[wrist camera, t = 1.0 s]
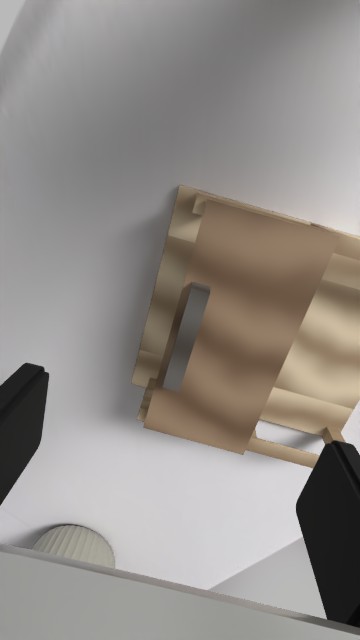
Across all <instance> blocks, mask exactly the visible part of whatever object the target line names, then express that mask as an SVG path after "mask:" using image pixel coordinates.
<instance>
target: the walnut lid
mask: <svg viewBox="0 0 360 640" xmlns="http://www.w3.org/2000/svg"><path fill="white" fill-rule="evenodd" d="M339 239H340V237H338V236H336V235H332V234H329V233H325V232H322V231H318V230H315V229H311V228H308V227H304V226H301V225H298V224H294V223H291V222H287V221H284V220H280V219H277V218H273V217H270V216H266V215H263V214H259V213H256V212H252V211H249V210H245V209H242V208H238V207H235V206H231V205H228V204H225V203H221V202H218V201H214V200H211V199H207V202H206V206H205V209H204V213H203V216H202V220H201V224H200V227H199V231H198V234H197V238H196V241H195V245H194V249H193V252H192V256H191V259H190V263H189V266H188V270H187V274H186V277H185V281H184V284H183V288H182V291H181V295H180V298H179V302H178V306H177V309H176V313H175V316H174V320H173V323H172V327H171V331H170V334H169V338H168V341H167V345H166V348H165V352H164V356H163V359H162V363H161V366H160V370H159V373H158V377H157V381H156V384H155V388H154V391H153V395H152V398H151V402H150V406H149V409H148V413H147V416H146V420H145V423H144V428H147V429H151V430H155V431H158V432H162V433H166V434H169V435H173V436H177V437H180V438H184V439H188V440H191V441H195V442H198V443H202V444H206V445H209V446H213V447H217V448H220V449H224V450H228V451H231V452H235V453H239V454H242V455H243V454H244V452H245V449H246V447H247V445H248V443H249V440H250V438H251V436H252V434H253V431H254V429H255V427H256V425H257V422H258V420H259V418H260V416H261V414H262V411H263V409H264V407H265V405H266V402H267V400H268V398H269V396H270V393H271V391H272V389H273V387H274V384H275V382H276V380H277V378H278V375H279V373H280V371H281V369H282V366H283V364H284V362H285V360H286V357H287V355H288V353H289V351H290V348H291V346H292V344H293V342H294V340H295V337H296V335H297V333H298V331H299V328H300V326H301V324H302V322H303V319H304V317H305V315H306V313H307V310H308V308H309V306H310V304H311V301H312V299H313V297H314V295H315V292H316V290H317V288H318V286H319V283H320V281H321V279H322V277H323V275H324V272H325V270H326V268H327V266H328V263H329V261H330V259H331V257H332V254H333V252H334V250H335V248H336V245H337V243H338V241H339Z"/></svg>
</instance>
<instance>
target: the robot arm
mask: <svg viewBox="0 0 360 640" xmlns="http://www.w3.org/2000/svg"><path fill="white" fill-rule="evenodd" d="M48 381H49V373H47V372H45V370H44V367H42V366H38V365H34V364H30V363H25V364H23V365H22V366H21V367H20V368H19V369H18V370H17V371H16V372H15V373H14V374H13V375H11V376H10V377H9V378H8V379H7V380H6V381H5V382H4V383H3V384H2V385H1V386H0V505H1V504H2V502H3V501H4V499H5V498H6V496H7V495H8V493H9V492H10V490H11V489H12V487H13V485H14V484H15V482H16V481H17V479H18V478H19V476H20V475H21V473H22V472H23V470H24V469H25V467H26V466H27V464H28V463H29V461H30V460H31V458H32V456H33V455H34V453H35V452H36V450H37V449H38V447H39V444H40V441H41V437H42V429H43V421H44V413H45V405H46V397H47V389H48ZM296 513H297V517H298V520H299V524H300V527H301V531H302V534H303V538H304V541H305V544H306V548H307V551H308V555H309V558H310V562H311V565H312V568H313V572H314V575H315V579H316V582H317V586H318V589H319V592H320V596H321V599H322V603H323V606H324V610H325V613H326V617H327V620H326V619H322V618H318V617H314V616H310V615H306V614H302V613H298V612H294V611H290V610H285V609H282V608H277V607H273V606H269V605H264V604H261V603H257V602H253V601H249V600H245V599H240V598H236V597H232V596H228V595H224V594H219V593H215V592H211V591H207V590H203V589H199V588H194V587H190V586H186V585H182V584H177V583H173V582H169V581H165V580H161V579H156V578H152V577H148V576H144V575H139V574H135V573H131V572H126V571H122V570H118V569H113V568H109V567H105V566H101V565H96V564H92V563H88V562H83V561H79V560H75V559H70V558H66V557H62V556H57V555H53V554H49V553H44V552H39V551H35V550H30V549H25V548H21V547H16V546H11V545H6V544H2V543H0V640H360V455H359V453H358V451H357V450H356V448H355V447H354V446H353V445H352V444H349V443H345V442H341V441H337V440H333V441H332V442H331V443H327V444H326V445H325V446H324V448H323V450H322V452H321V454H320V456H319V458H318V460H317V462H316V464H315V466H314V468H313V470H312V472H311V474H310V476H309V478H308V480H307V482H306V484H305V486H304V488H303V490H302V492H301V494H300V496H299V498H298V500H297V503H296Z"/></svg>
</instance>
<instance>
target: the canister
mask: <svg viewBox="0 0 360 640" xmlns="http://www.w3.org/2000/svg"><path fill="white" fill-rule="evenodd" d="M31 550H35V551H39V552H44V553H49V554H53V555H57V556H62V557H66V558H70V559H75V560H79V561H83V562H88V563H92V564H96V565H101V566H105V567H109V568H113V569H115V557H114V553H113V550H112V549H111V546H110V545H109V544H108V542H107V541H106V540H105V539H104V538H103V537H101V536H100V535H99V534H97V533H96V532H95V531H92V530H90V529H87V528H85V527H80V526H74V525H72V526H69V525H66V526H60V527H56V528H54V529H51V530H49V531H48V532H46V533H45V534H44V535H43V536H42V537H41V538H39V540H38V541H37V542H36V543H35V544H34V546H33V547H32V549H31Z"/></svg>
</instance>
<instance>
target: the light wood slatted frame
mask: <svg viewBox="0 0 360 640" xmlns="http://www.w3.org/2000/svg"><path fill="white" fill-rule="evenodd" d="M207 199H211V200H214V201H218V202H221V203H225V204H228V205H231V206H235V207H238V208H242V209H245V210H249V211H252V212H256V213H259V214H263V215H266V216H270V217H273V218H277V219H280V220H284V221H287V222H291V223H294V224H298V225H301V226H304V227H308V228H311V229H315V230H318V231H322V232H325V233H329V234H332V235H336V236H338V237H340V239H339V241H338V243H337V245H336V248H335V250H334V252H333V254H332V257H331V259H330V261H329V263H328V266H327V268H326V270H325V272H324V275H323V277H322V279H321V281H320V283H319V286H318V288H317V290H316V292H315V295H314V297H313V299H312V301H311V304H310V306H309V308H308V310H307V313H306V315H305V317H304V319H303V322H302V324H301V326H300V328H299V331H298V333H297V335H296V337H295V340H294V342H293V344H292V346H291V348H290V351H289V353H288V355H287V357H286V360H285V362H284V364H283V366H282V369H281V371H280V373H279V375H278V378H277V380H276V382H275V384H274V387H273V389H272V391H271V393H270V396H269V398H268V400H267V402H266V405H265V407H264V409H263V411H262V414H261V416H260V418H259V419H261V420H264V421H268V422H272V423H275V424H279V425H283V426H286V427H290V428H293V429H297V430H301V431H304V432H308V433H311V434H315V435H319V436H322V438H323V441H324V443H325V445H326V444H327V443H331V442H332V441H333V440H337V441H341V442H345V440H344V439H343V437H342V435H341V433H340V432H341V431H342V429H343V427H344V425H345V424H346V422H347V420H348V418H349V417H350V415H351V413H352V412H353V410H354V408H355V406H356V405H357V403H358V401H359V399H360V237H359V236H356V235H352V234H349V233H345V232H342V231H339V230H335V229H332V228H328V227H325V226H321V225H318V224H314V223H311V222H307V221H304V220H300V219H297V218H293V217H290V216H286V215H283V214H279V213H276V212H273V211H269V210H266V209H262V208H259V207H255V206H252V205H248V204H245V203H241V202H238V201H234V200H231V199H227V198H224V197H220V196H217V195H213V194H210V193H207V192H203V191H200V190H196V189H193V188H189V187H186V186H182V185H180V186H179V190H178V194H177V198H176V202H175V206H174V210H173V215H172V219H171V223H170V227H169V231H168V235H167V239H166V243H165V247H164V251H163V255H162V259H161V263H160V267H159V271H158V276H157V280H156V284H155V288H154V292H153V296H152V300H151V304H150V308H149V312H148V316H147V320H146V324H145V328H144V332H143V337H142V341H141V345H140V349H139V353H138V357H137V361H136V365H135V369H134V373H133V377H132V381H131V384H134V385H138V386H142V387H145V388H146V391H145V394H144V397H143V401H142V404H141V407H140V410H139V414H138V418H137V420H139V421H143V422H145V420H146V416H147V413H148V409H149V406H150V402H151V398H152V395H153V391H154V388H155V384H156V381H157V377H158V373H159V370H160V366H161V363H162V359H163V356H164V352H165V348H166V345H167V341H168V338H169V334H170V331H171V327H172V323H173V320H174V316H175V313H176V309H177V306H178V302H179V298H180V295H181V291H182V288H183V284H184V281H185V277H186V274H187V270H188V266H189V263H190V259H191V256H192V252H193V249H194V245H195V241H196V238H197V234H198V231H199V227H200V224H201V220H202V216H203V213H204V209H205V206H206V202H207ZM345 443H346V442H345ZM245 450H248V451H252V452H256V453H259V454H263V455H267V456H270V457H274V458H278V459H281V460H285V461H288V462H292V463H296V464H299V465H303V466H307V467H310V468H314V466H315V464H316V462H317V460H318V458H319V456H320V455H317V454H313V453H309V452H306V451H302V450H298V449H295V448H291V447H288V446H284V445H280V444H277V443H273V442H269V441H266V440H262V439H259V438H257V437H256V431H255V429H254V431H253V434H252V436H251V438H250V440H249V443H248V445H247V447H246V449H245Z"/></svg>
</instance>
